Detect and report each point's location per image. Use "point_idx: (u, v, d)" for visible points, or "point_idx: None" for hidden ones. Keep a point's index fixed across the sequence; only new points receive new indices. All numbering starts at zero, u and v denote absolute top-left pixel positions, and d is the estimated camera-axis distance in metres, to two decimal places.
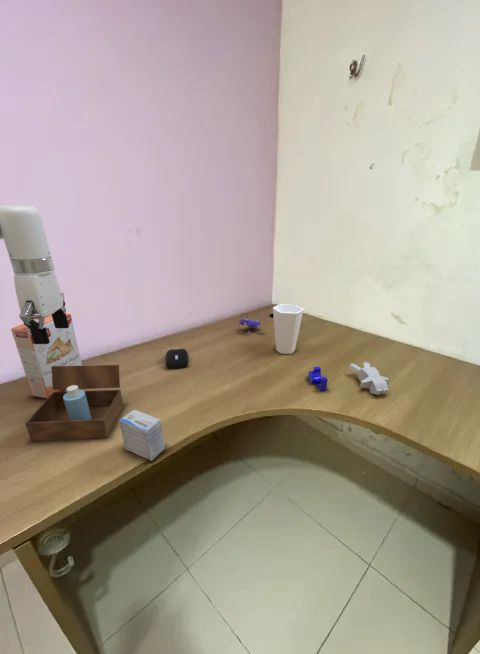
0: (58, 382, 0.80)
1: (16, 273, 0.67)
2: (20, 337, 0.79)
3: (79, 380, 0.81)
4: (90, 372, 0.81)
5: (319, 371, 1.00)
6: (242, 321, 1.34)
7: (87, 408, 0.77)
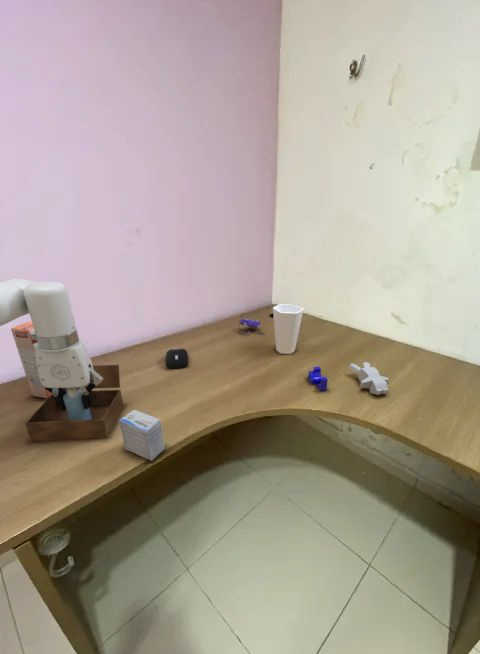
0: None
1: (70, 347, 0.68)
2: (20, 337, 0.79)
3: None
4: None
5: (319, 371, 1.00)
6: (242, 321, 1.34)
7: None
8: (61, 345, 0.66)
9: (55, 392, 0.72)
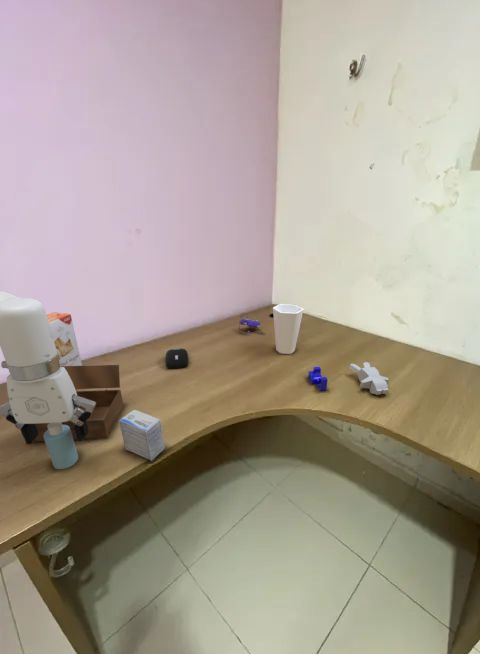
0: None
1: (49, 376, 0.56)
2: None
3: (79, 380, 0.81)
4: (90, 372, 0.81)
5: (319, 371, 1.00)
6: (242, 321, 1.34)
7: (73, 446, 0.65)
8: (37, 375, 0.54)
9: (20, 424, 0.60)
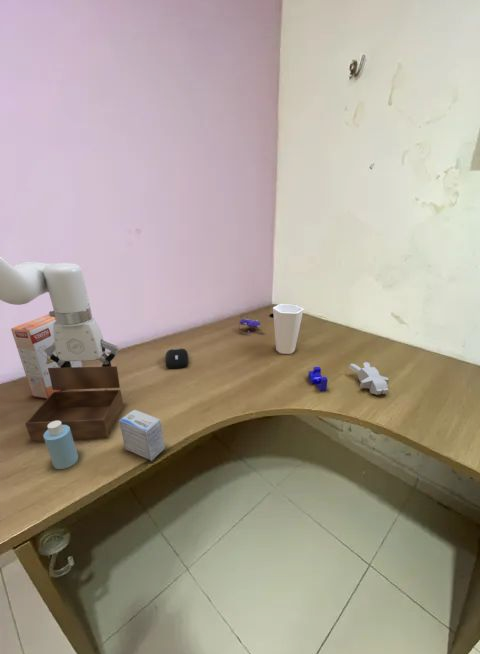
0: (57, 383, 0.80)
1: (85, 322, 0.74)
2: (20, 337, 0.79)
3: (78, 381, 0.80)
4: (89, 373, 0.80)
5: (319, 371, 1.00)
6: (242, 321, 1.34)
7: (73, 446, 0.65)
8: (77, 320, 0.73)
9: (61, 362, 0.79)
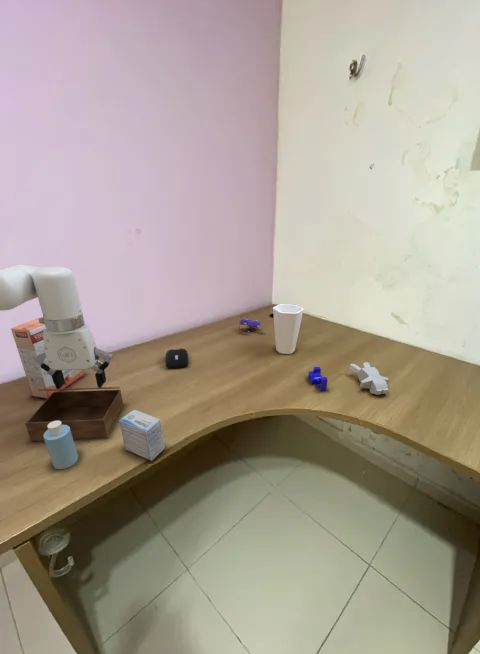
0: (55, 390, 0.79)
1: (77, 330, 0.70)
2: (20, 337, 0.79)
3: None
4: None
5: (319, 371, 1.00)
6: (242, 321, 1.34)
7: (73, 446, 0.65)
8: (68, 328, 0.69)
9: (52, 371, 0.75)
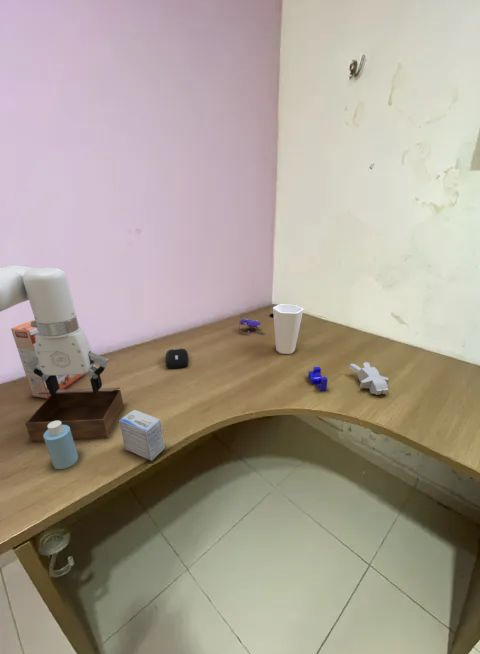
0: None
1: (70, 333, 0.67)
2: (20, 337, 0.79)
3: None
4: None
5: (319, 371, 1.00)
6: (242, 321, 1.34)
7: (73, 446, 0.65)
8: (61, 331, 0.66)
9: (45, 376, 0.72)
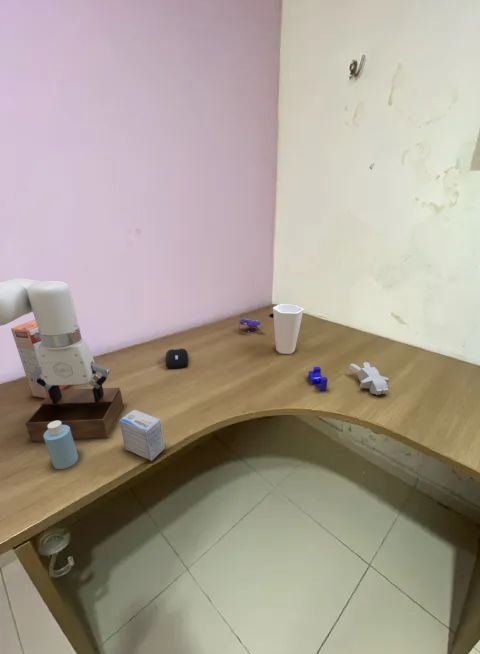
0: None
1: (73, 345, 0.69)
2: (20, 337, 0.79)
3: None
4: None
5: (319, 371, 1.00)
6: (242, 321, 1.34)
7: (73, 446, 0.65)
8: (64, 343, 0.67)
9: (48, 386, 0.73)
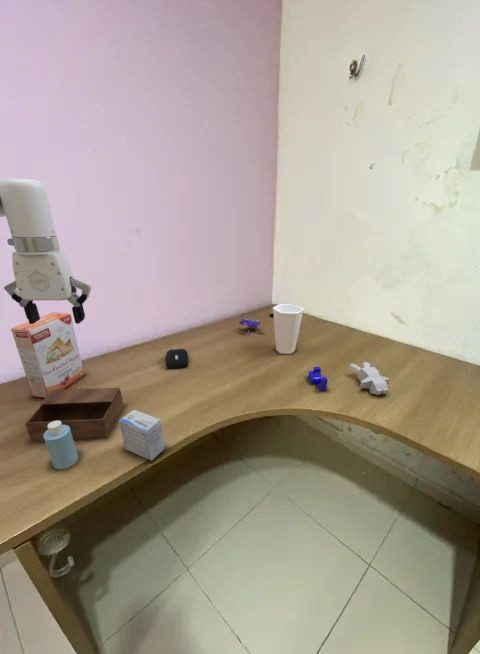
0: None
1: (49, 252, 0.64)
2: (20, 337, 0.79)
3: None
4: None
5: (319, 371, 1.00)
6: (242, 321, 1.34)
7: (73, 446, 0.65)
8: (39, 248, 0.62)
9: (24, 302, 0.68)
